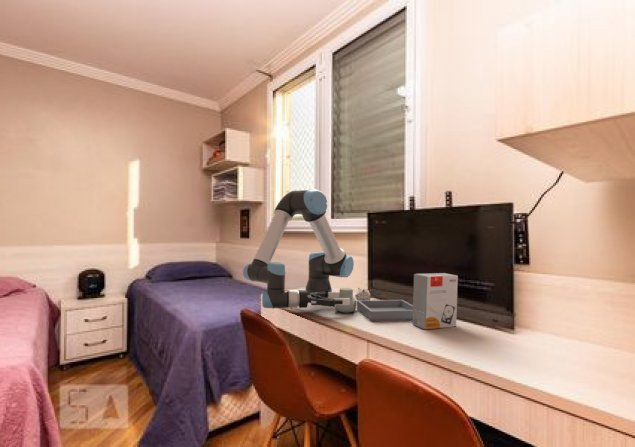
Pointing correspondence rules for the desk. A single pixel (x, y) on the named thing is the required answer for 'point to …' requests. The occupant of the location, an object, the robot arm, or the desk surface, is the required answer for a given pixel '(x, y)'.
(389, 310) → the tray
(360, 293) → the game die
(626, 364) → the desk surface
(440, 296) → the hard drive box
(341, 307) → the air freshener
